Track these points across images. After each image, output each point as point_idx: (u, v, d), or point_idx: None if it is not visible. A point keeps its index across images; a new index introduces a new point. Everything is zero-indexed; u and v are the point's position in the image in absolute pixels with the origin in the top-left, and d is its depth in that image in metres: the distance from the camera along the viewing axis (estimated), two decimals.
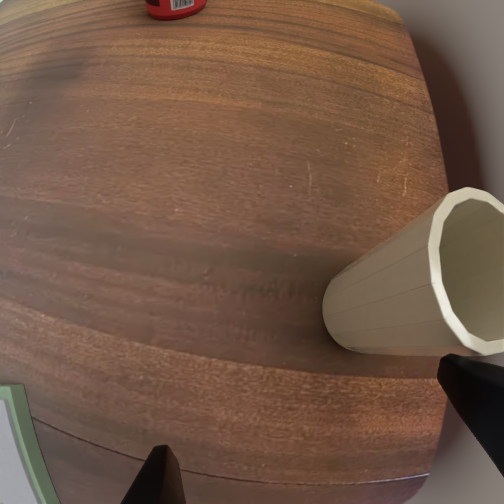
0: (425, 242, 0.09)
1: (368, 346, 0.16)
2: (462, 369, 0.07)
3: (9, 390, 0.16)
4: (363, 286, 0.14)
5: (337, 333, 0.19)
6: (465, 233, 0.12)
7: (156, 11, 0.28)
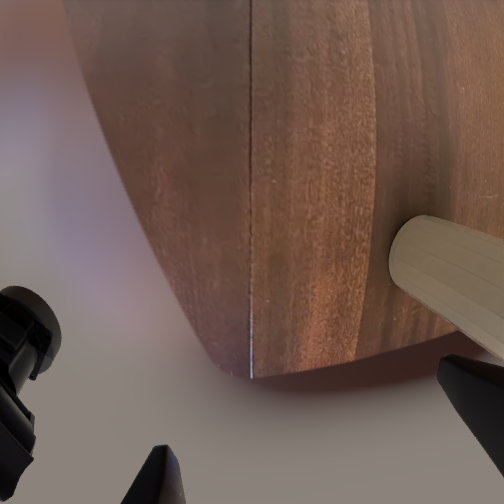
0: None
1: (436, 255, 0.17)
2: (462, 369, 0.07)
3: None
4: (492, 237, 0.15)
5: (418, 230, 0.20)
6: None
7: None
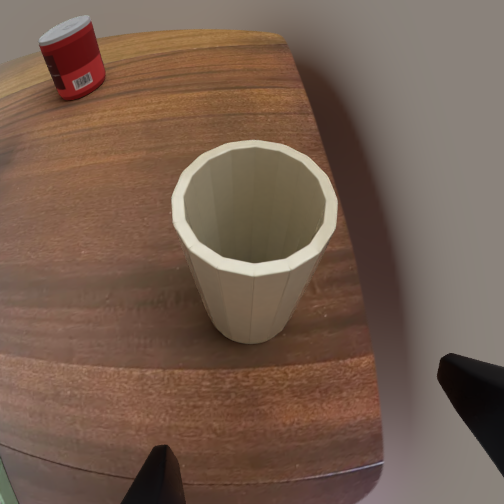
0: (173, 196, 0.12)
1: (227, 324, 0.18)
2: (462, 369, 0.07)
3: None
4: None
5: (215, 325, 0.21)
6: (271, 189, 0.16)
7: (64, 94, 0.34)
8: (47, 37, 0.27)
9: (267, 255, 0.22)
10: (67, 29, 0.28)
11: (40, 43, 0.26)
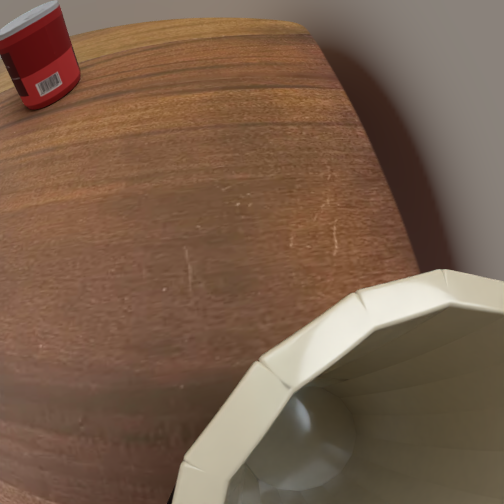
0: None
1: None
2: None
3: None
4: None
5: None
6: (412, 356, 0.05)
7: (28, 102, 0.25)
8: (5, 30, 0.18)
9: (334, 385, 0.12)
10: (29, 18, 0.18)
11: None
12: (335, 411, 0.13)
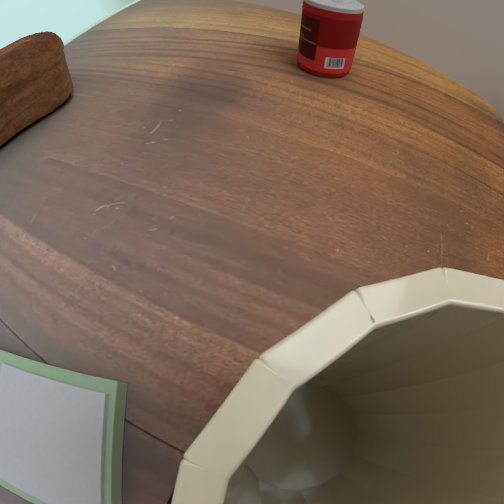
0: None
1: None
2: None
3: (116, 385, 0.18)
4: None
5: None
6: (411, 355, 0.05)
7: (309, 64, 0.36)
8: None
9: (334, 385, 0.12)
10: (339, 4, 0.29)
11: (309, 1, 0.28)
12: (335, 411, 0.13)
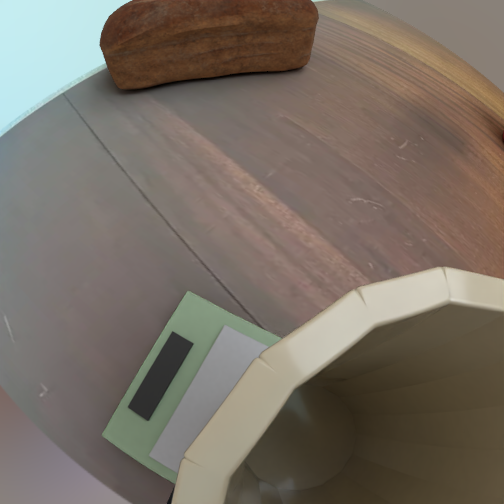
0: None
1: None
2: None
3: None
4: None
5: None
6: (412, 354, 0.05)
7: None
8: None
9: (334, 385, 0.12)
10: None
11: None
12: (335, 410, 0.13)
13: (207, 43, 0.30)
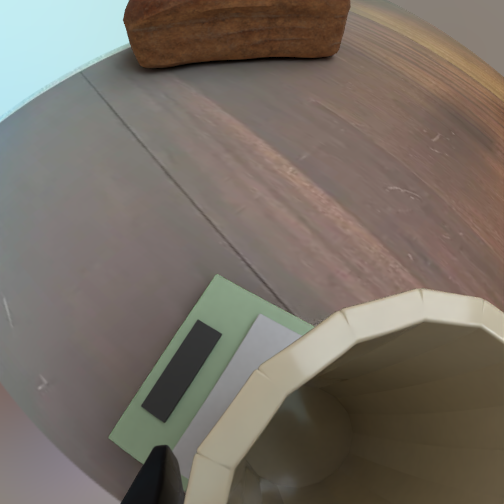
0: None
1: None
2: None
3: None
4: None
5: None
6: (398, 361, 0.06)
7: None
8: None
9: (330, 386, 0.12)
10: None
11: None
12: (332, 410, 0.14)
13: (237, 23, 0.28)
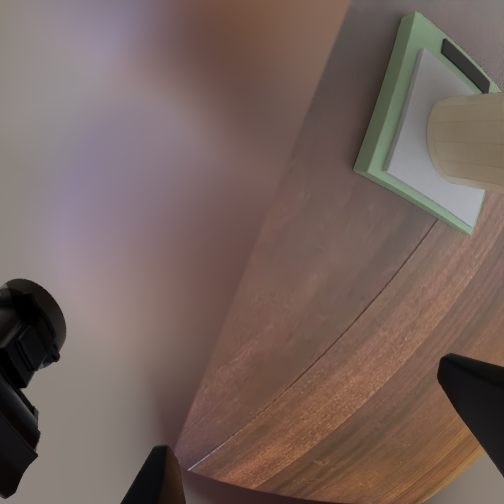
0: None
1: (480, 120, 0.12)
2: (462, 369, 0.07)
3: (470, 233, 0.21)
4: None
5: (449, 106, 0.15)
6: None
7: None
8: None
9: None
10: None
11: None
12: None
13: None
